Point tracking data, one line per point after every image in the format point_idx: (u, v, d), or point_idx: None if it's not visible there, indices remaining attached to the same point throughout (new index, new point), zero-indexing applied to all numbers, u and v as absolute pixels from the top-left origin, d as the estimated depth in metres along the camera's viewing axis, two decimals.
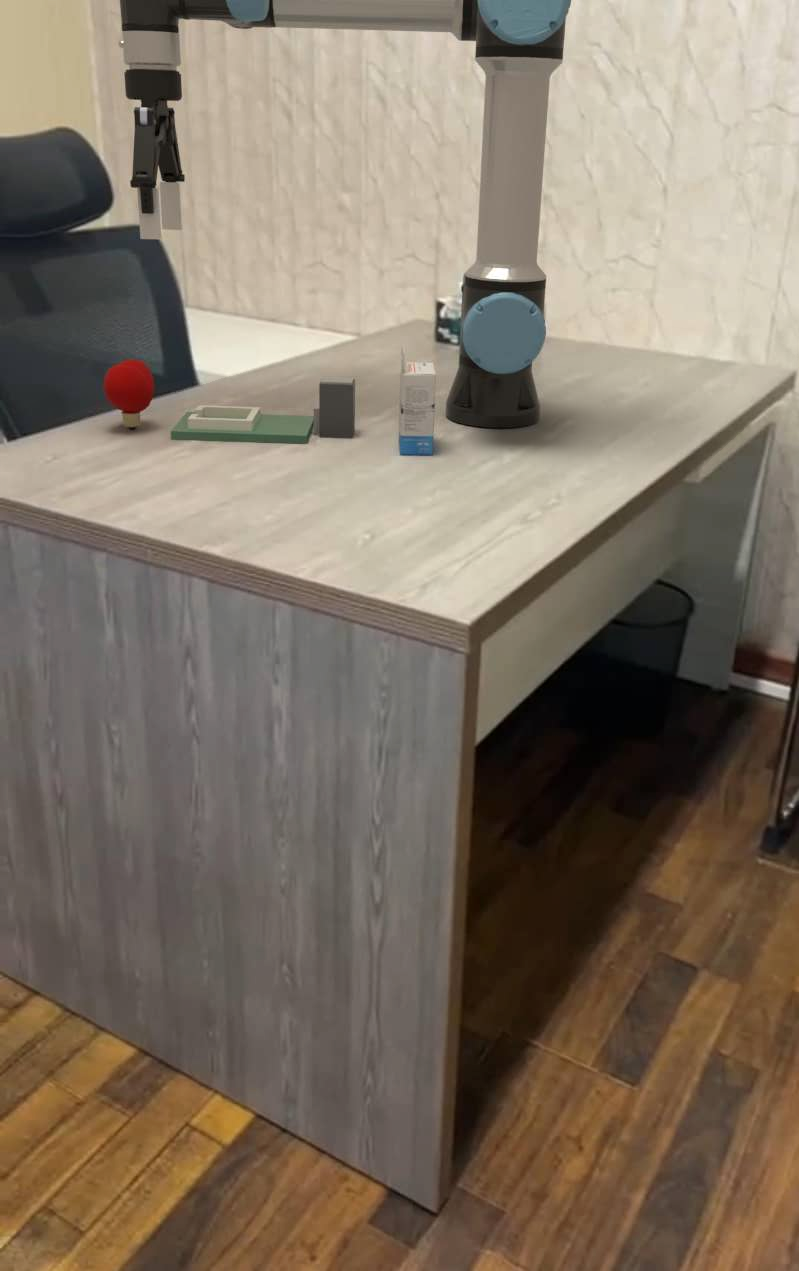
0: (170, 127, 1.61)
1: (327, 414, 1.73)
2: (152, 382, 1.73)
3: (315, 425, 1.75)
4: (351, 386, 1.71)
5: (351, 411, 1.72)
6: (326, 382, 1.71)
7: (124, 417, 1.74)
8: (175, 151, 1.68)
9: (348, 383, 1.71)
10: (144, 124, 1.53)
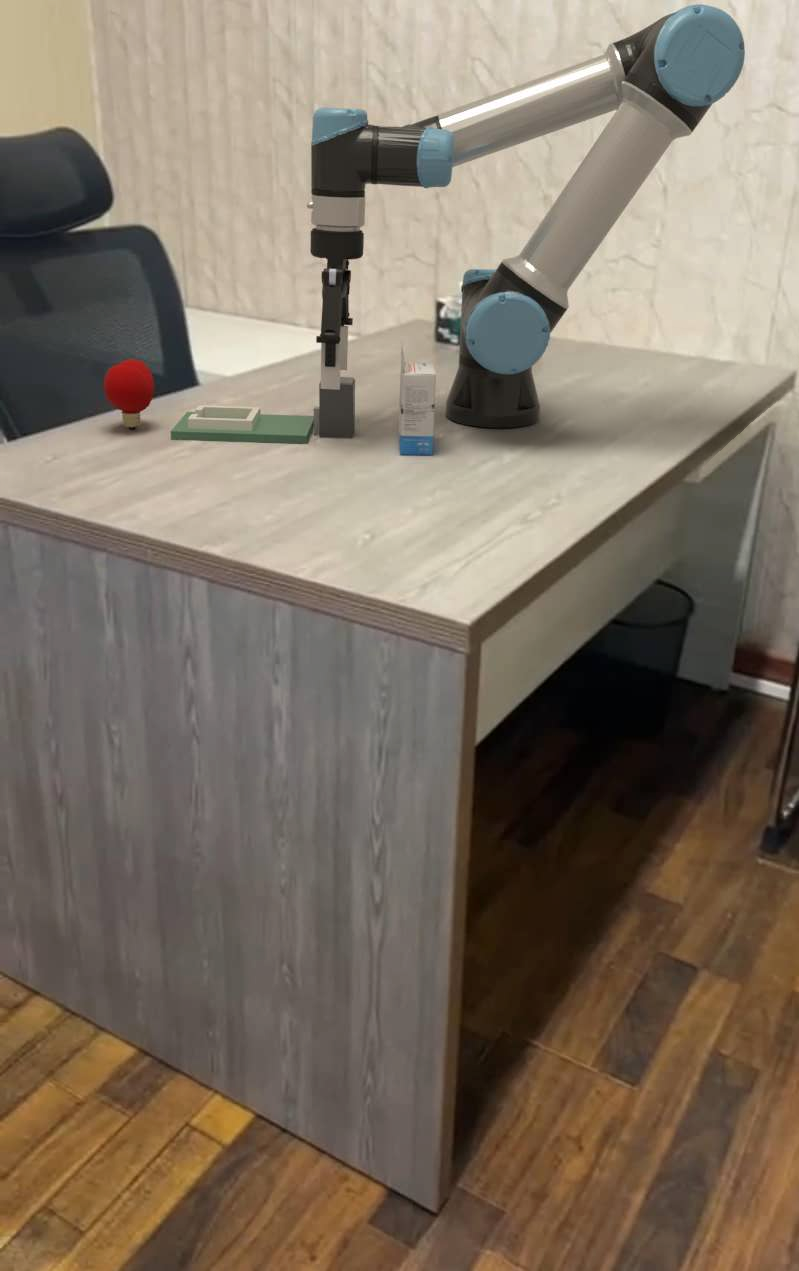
0: (349, 280, 1.68)
1: (327, 414, 1.73)
2: (152, 382, 1.73)
3: (315, 425, 1.75)
4: (351, 386, 1.71)
5: (351, 411, 1.72)
6: None
7: (124, 417, 1.74)
8: (346, 297, 1.75)
9: (348, 383, 1.71)
10: (332, 284, 1.60)
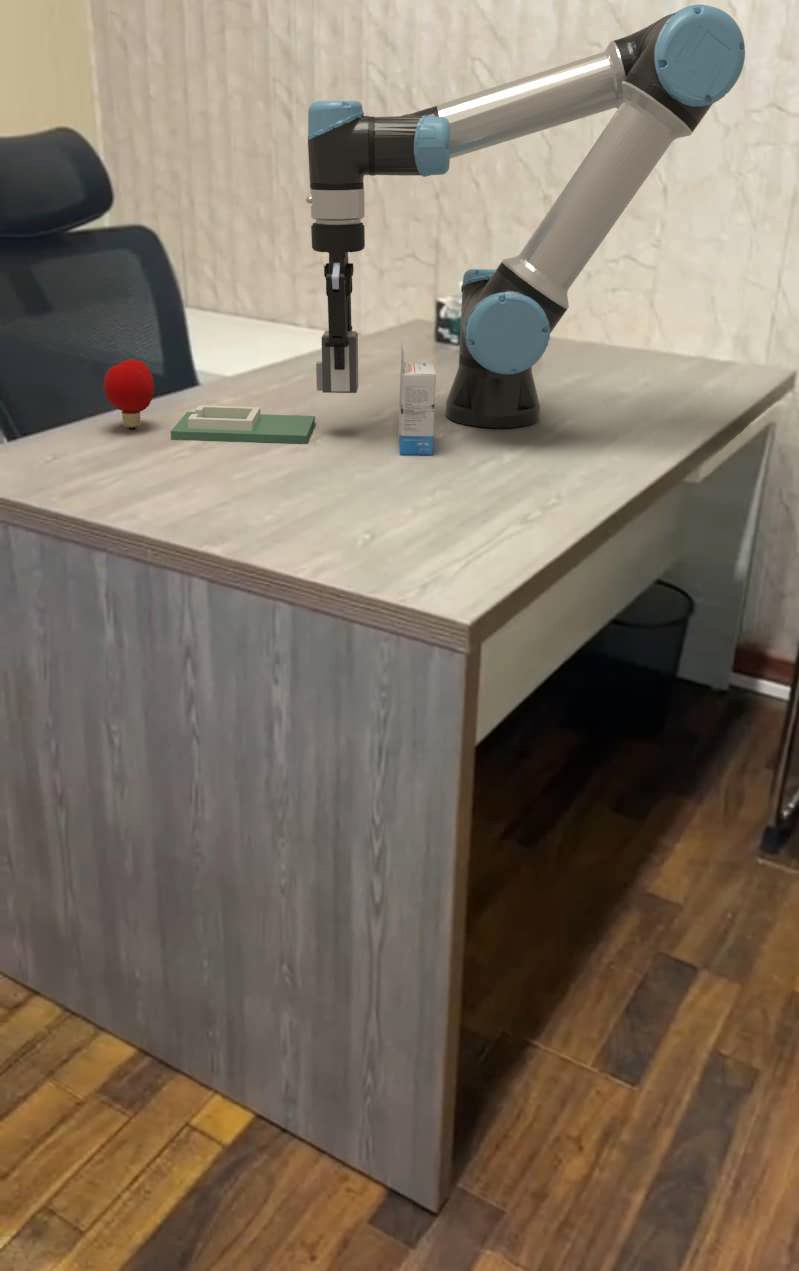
0: (351, 273, 1.67)
1: (330, 369, 1.70)
2: (152, 382, 1.73)
3: (318, 380, 1.72)
4: (354, 339, 1.68)
5: (354, 365, 1.69)
6: (328, 335, 1.68)
7: (124, 417, 1.74)
8: (349, 304, 1.72)
9: (350, 336, 1.68)
10: (336, 289, 1.62)
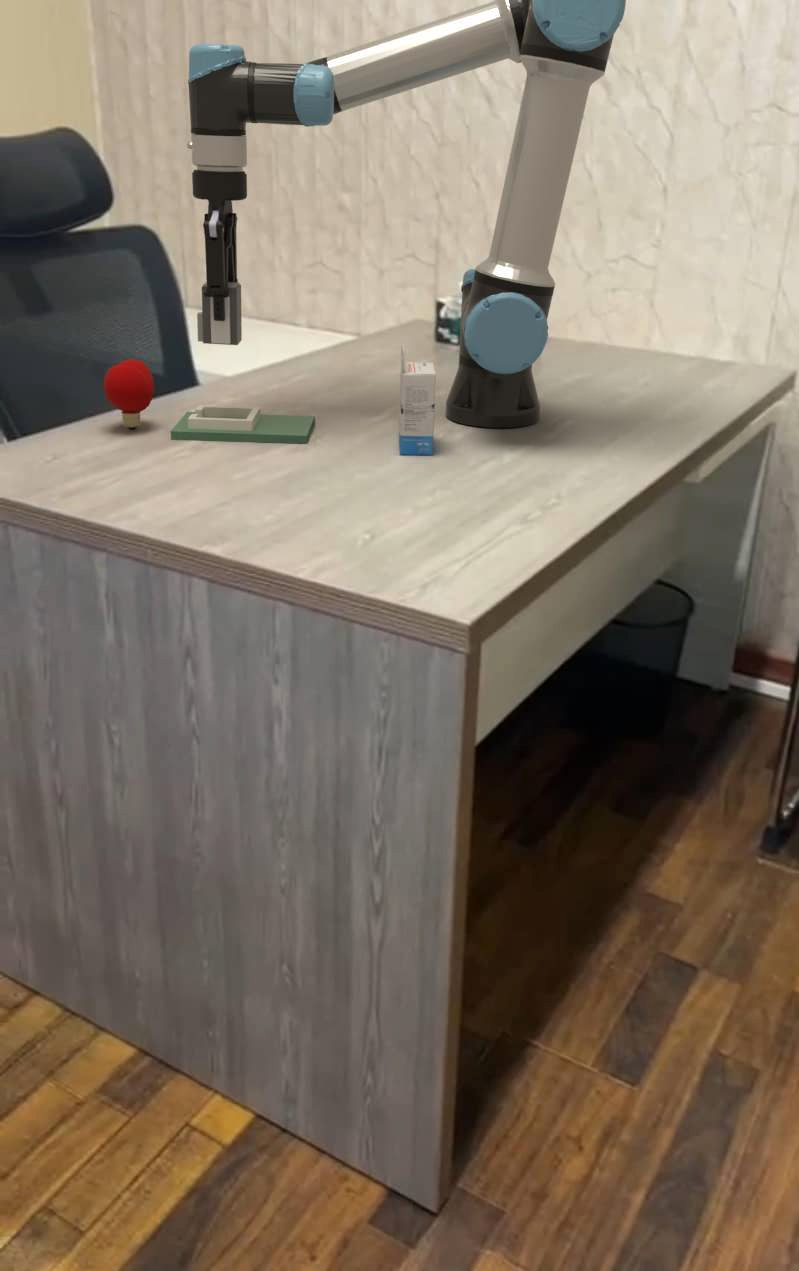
0: (234, 223, 1.65)
1: (210, 319, 1.67)
2: (152, 382, 1.73)
3: (199, 331, 1.69)
4: (234, 289, 1.66)
5: (235, 316, 1.67)
6: None
7: (124, 417, 1.74)
8: (233, 256, 1.70)
9: (231, 286, 1.66)
10: (214, 237, 1.59)
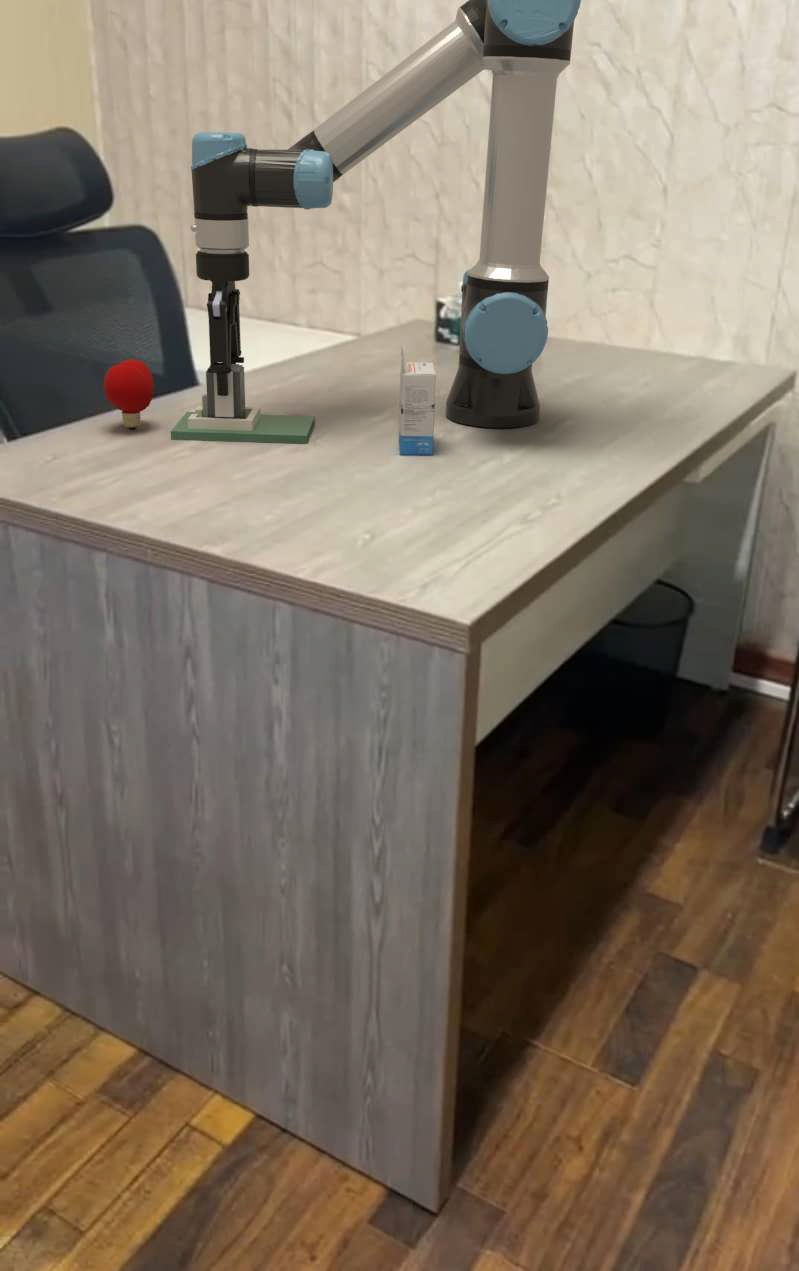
0: (237, 301, 1.69)
1: (214, 402, 1.72)
2: (152, 382, 1.73)
3: (204, 413, 1.74)
4: (238, 373, 1.71)
5: (239, 399, 1.72)
6: None
7: (124, 417, 1.74)
8: (237, 329, 1.75)
9: (234, 370, 1.71)
10: (217, 316, 1.63)
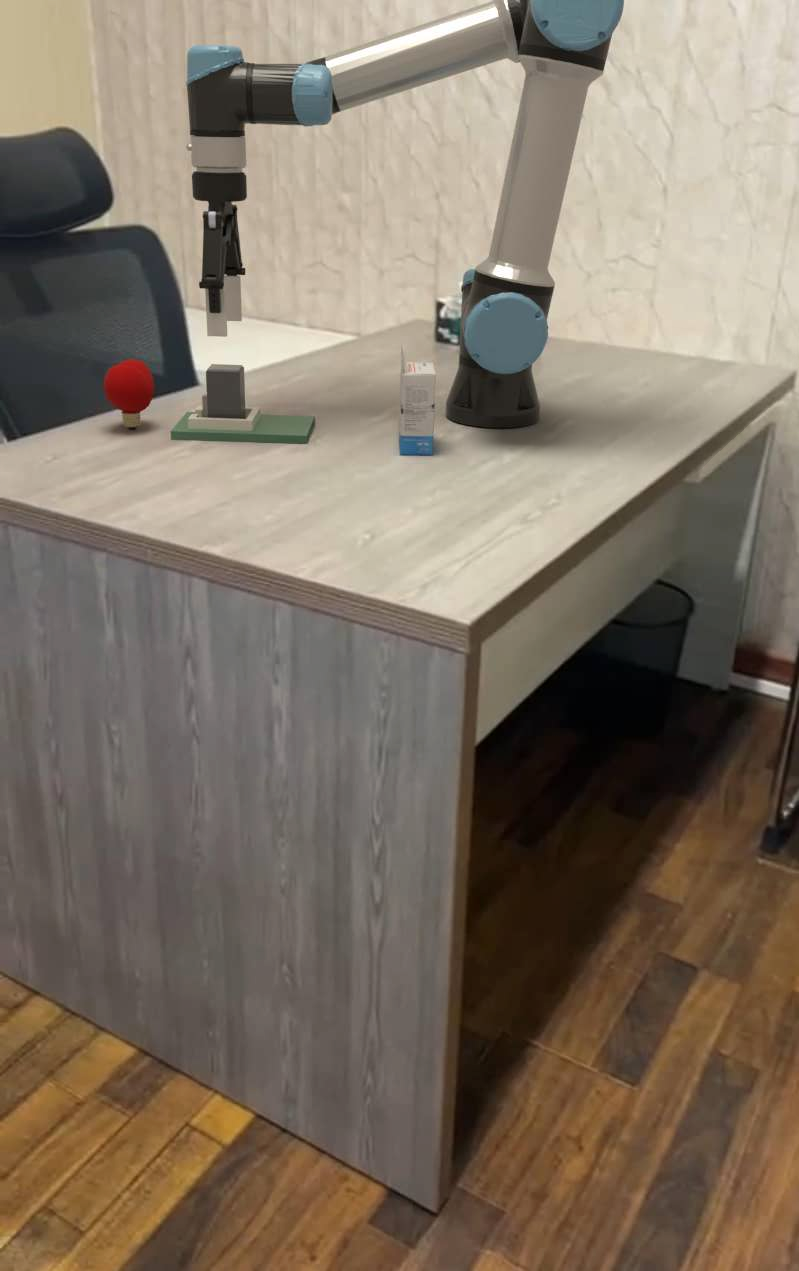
0: (234, 225, 1.65)
1: (214, 402, 1.72)
2: (152, 382, 1.73)
3: (204, 413, 1.74)
4: (238, 373, 1.71)
5: (239, 398, 1.72)
6: (213, 369, 1.71)
7: (124, 417, 1.74)
8: (237, 245, 1.72)
9: (234, 370, 1.71)
10: (212, 227, 1.58)
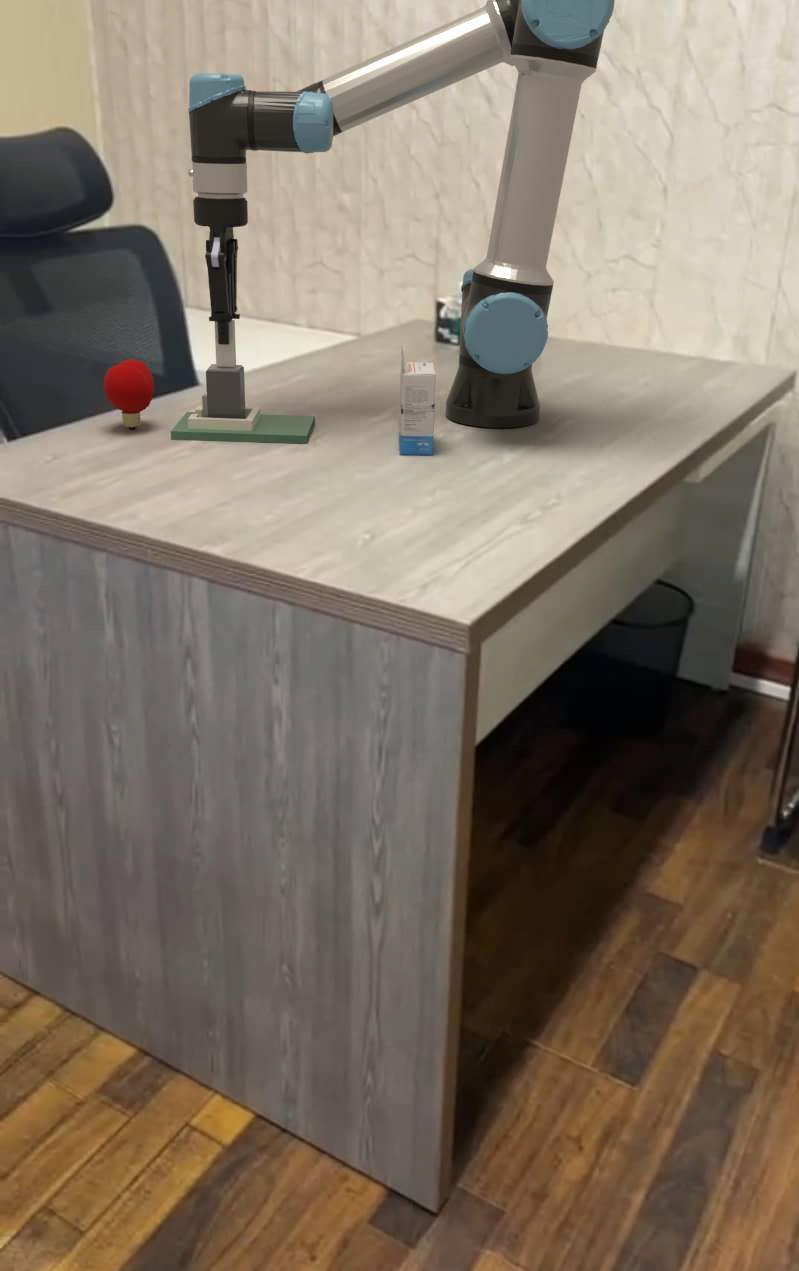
0: (235, 248, 1.66)
1: (214, 402, 1.72)
2: (152, 382, 1.73)
3: (204, 413, 1.74)
4: (238, 373, 1.71)
5: (239, 398, 1.72)
6: (213, 369, 1.71)
7: (124, 417, 1.74)
8: (233, 283, 1.70)
9: (234, 370, 1.71)
10: (216, 266, 1.61)
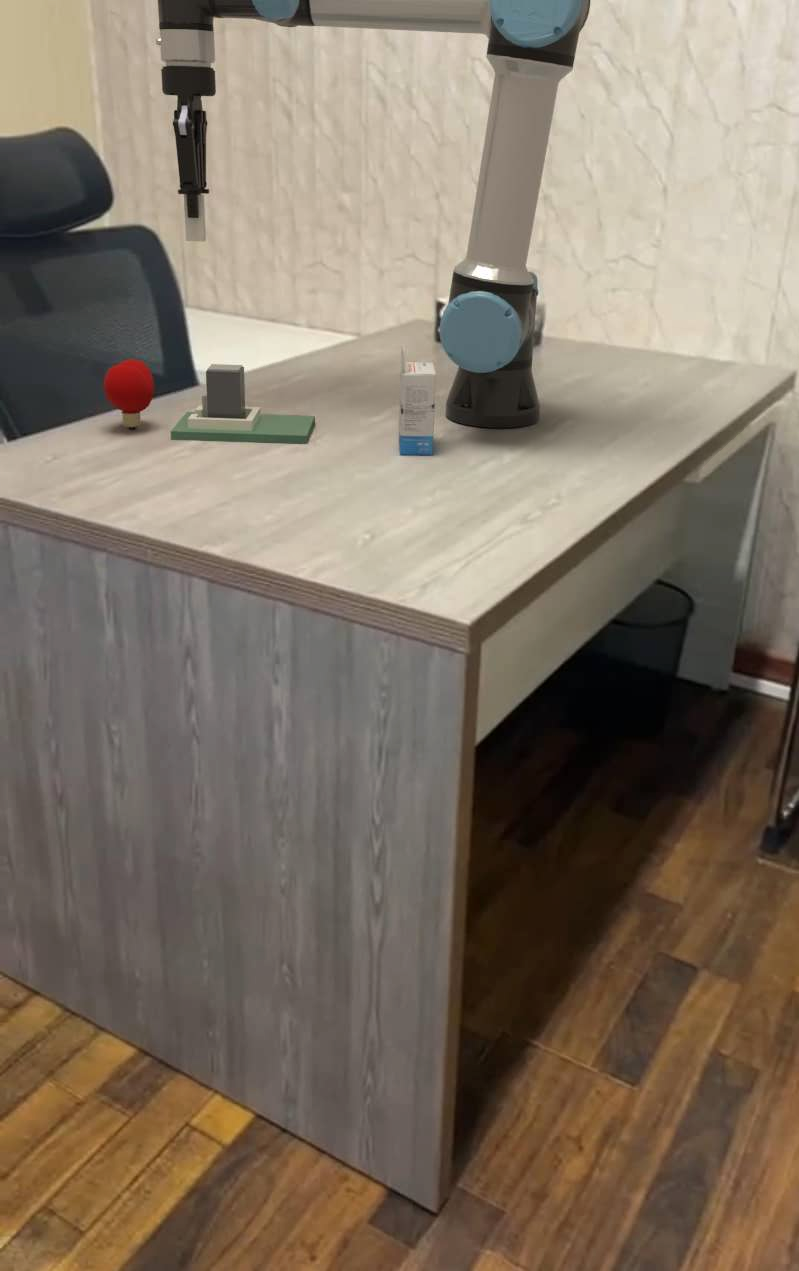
0: (203, 120, 1.67)
1: (214, 402, 1.72)
2: (152, 382, 1.73)
3: (204, 413, 1.74)
4: (238, 373, 1.71)
5: (239, 398, 1.72)
6: (213, 369, 1.71)
7: (124, 417, 1.74)
8: (203, 158, 1.72)
9: (234, 370, 1.71)
10: (184, 134, 1.63)
